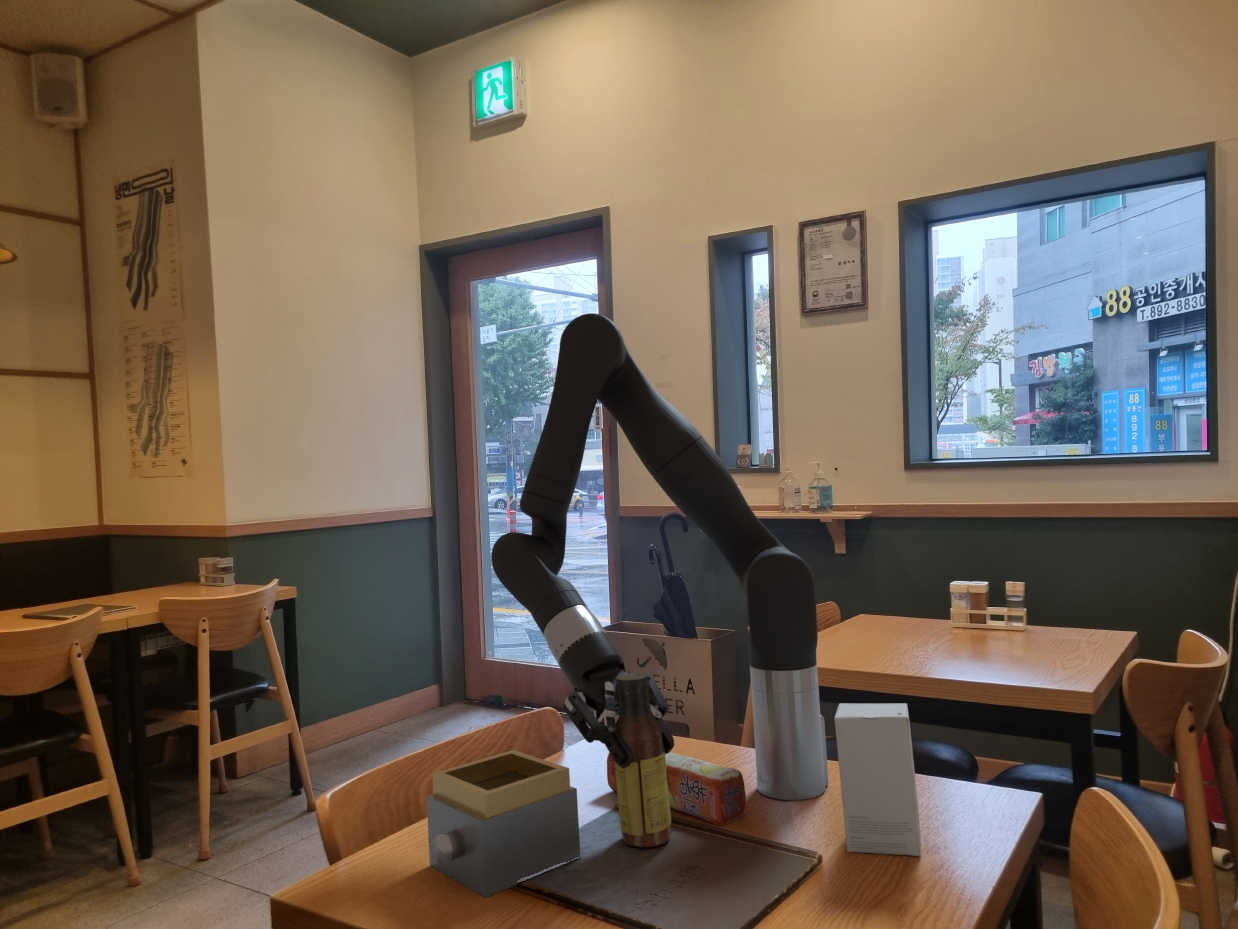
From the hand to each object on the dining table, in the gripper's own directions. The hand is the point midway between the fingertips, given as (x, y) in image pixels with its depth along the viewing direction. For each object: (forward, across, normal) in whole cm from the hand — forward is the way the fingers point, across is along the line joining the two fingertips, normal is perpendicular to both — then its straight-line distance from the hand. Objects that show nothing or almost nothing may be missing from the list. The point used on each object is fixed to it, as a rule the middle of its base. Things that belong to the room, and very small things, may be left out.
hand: (649, 756), depth 101 cm
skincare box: (+22, +17, -7) cm, 29 cm away
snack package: (+2, +11, +13) cm, 17 cm away
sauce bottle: (+6, 0, +9) cm, 11 cm away
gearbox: (+1, -15, +14) cm, 21 cm away
